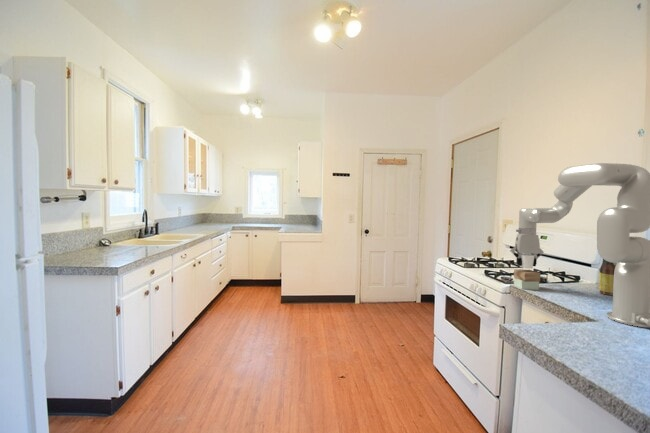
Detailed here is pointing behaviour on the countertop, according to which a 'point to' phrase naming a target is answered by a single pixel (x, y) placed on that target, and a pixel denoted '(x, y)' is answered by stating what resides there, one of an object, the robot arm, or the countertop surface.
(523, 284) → the lower block
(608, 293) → the sauce bottle
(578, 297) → the countertop surface
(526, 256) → the shot glass
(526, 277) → the upper block
